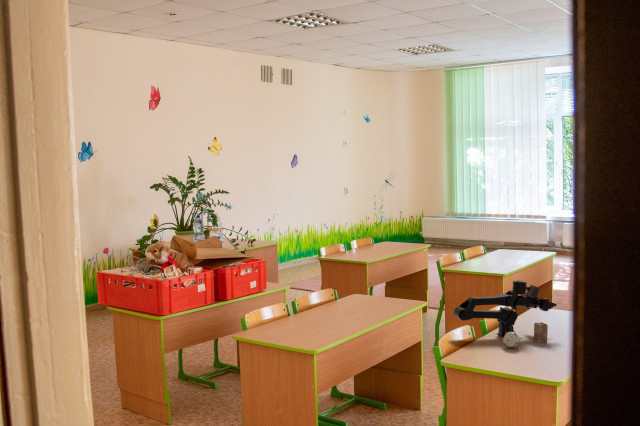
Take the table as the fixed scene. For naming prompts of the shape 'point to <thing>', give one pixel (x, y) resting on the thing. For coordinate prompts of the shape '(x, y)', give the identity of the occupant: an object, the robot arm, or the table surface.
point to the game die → (511, 339)
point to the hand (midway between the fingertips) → (551, 303)
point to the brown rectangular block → (540, 332)
